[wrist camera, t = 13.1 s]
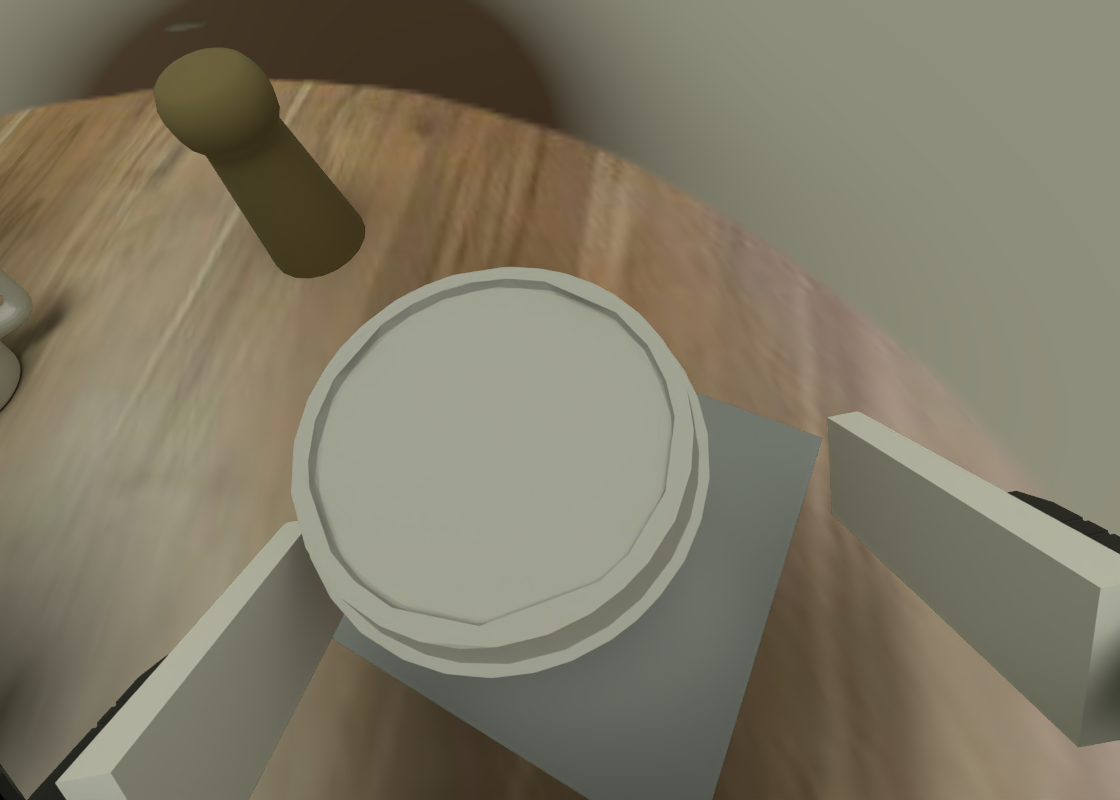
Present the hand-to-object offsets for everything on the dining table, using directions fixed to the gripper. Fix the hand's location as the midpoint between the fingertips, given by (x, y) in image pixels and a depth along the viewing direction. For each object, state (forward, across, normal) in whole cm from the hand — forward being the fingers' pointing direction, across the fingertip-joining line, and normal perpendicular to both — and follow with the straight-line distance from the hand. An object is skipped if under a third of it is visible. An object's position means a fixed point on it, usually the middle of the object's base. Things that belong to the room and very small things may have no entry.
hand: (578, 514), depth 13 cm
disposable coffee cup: (+7, -2, -5) cm, 9 cm away
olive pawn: (+24, -13, +9) cm, 29 cm away
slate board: (+8, 0, -6) cm, 10 cm away
